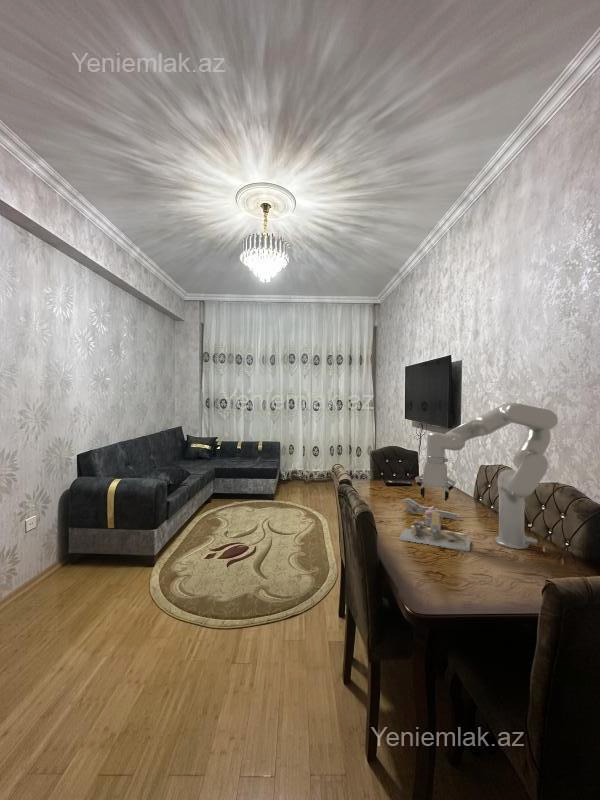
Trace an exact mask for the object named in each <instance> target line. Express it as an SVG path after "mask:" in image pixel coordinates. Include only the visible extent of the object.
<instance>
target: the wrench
mask: <svg viewBox="0 0 600 800" xmlns="http://www.w3.org/2000/svg"><path fill="white" fill-rule="evenodd" d="M406 503H407V504H409V507H404V508H403V511H406V512H407V513H410V514H413V515H416V514H417V513H425V512H426V510H428V509H429V508H430V507H429V506H423V505H421V504H419V503H417V502H416V501H415V500H413V499H412V498H408V497H407V498H404V499H403V500H402V504H406ZM438 510H439V512H440V513H441V516H442V517H443V518H445V519H450V520H454V521H461V519H462V516H461V515H460V514H459V513H456V512H450V511H445V510H441V509H438ZM457 516H459V518H457Z"/></svg>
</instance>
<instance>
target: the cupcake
mask: <svg viewBox="0 0 600 800" xmlns="http://www.w3.org/2000/svg"><path fill="white" fill-rule="evenodd" d="M428 508H429V509H428V510H426V512H424V514H423V515H422V517H423V519H424V524H425V526H426V528H430V525H431V523H432V512H437V513H440V512H439V510H440V509H437V508H436V507H435V506H434V505H432V506H430V507H428ZM443 518H444V517H442V516H441V513H440V521H439V524H441V523H442V521H443Z"/></svg>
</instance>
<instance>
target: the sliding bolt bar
mask: <svg viewBox="0 0 600 800" xmlns="http://www.w3.org/2000/svg"><path fill="white" fill-rule="evenodd" d="M410 529H411V532H414V533H416V536H419V533H420V534H426V535H432V536H433V532H432V530H431V529H430V527H427V526H426V527H425V521H421V520H414V522H413V524H412V525H411V526H410ZM436 536H439V537H445V538H451V539H457V540H464V541H466V538H467V533H465V532H458V531H451V530H445V529H440V531H437V532H436Z"/></svg>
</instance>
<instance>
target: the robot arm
mask: <svg viewBox="0 0 600 800" xmlns="http://www.w3.org/2000/svg"><path fill="white" fill-rule="evenodd" d="M510 424H516V425H520V426H524V427H526V428H527V435H526V438H525V439H524V441H523V442H522V444H521V445H520V447H519V448H518V450H517V452H516V453H515V455H514V456H513V460H512V462H513V465H514V467H515V468H517V469H516V470H513V469H505V470H503V471H501V472H500V473H499V474H498V477H497V481H496V483H497V490H498V535H497V536H495V537H494V542H495V543H496V544H497V545H499V546H502V547H505V548H508V547H509V549H514V548H515V549H514V550H523V549H524V550H525V549H528V548H529V545H530V544H534V545H538V539H537V538H534V537H531V536H526V534H525V498H527V497H529V496H531V494H533V492H534V491H535V490H536V489H537V487H538V485H539V484H540V482H541V481H542V480H543V478H544V476H545V475H546V473H547V471H548V468H549V462H548V459H547V457H546V456H545V455H544V454H545V453H546V451H547V449H548V448H549V445H550V442H551V431H550V430H552V429H554V428H555V427H556V426H557V424H558V416H557V414H556V413H555V412H554V411H552V410H550V409H546V408H542V407H541V408H540V407H537V406H533V405H532V406H531V405H528V404H523V403H518V402H508V403H507V402H506V403H503V404H501V405H499V406H496V407H495V408H493V409H491V410H489V411H488V412H486V413H484V414H482V415H480V416H478V417H476V418H474V419H471V420H469V421H467V422H465V423H463V424H460V425H458V426H457V427H455V428H453V429H450V430H449V431H447V432H445V433H442V432H429V433H428V434H427V436H426V438H427V439H426V462H424V466H423V474H420V475H418V476H416V477H414V480H415V483H416V485H417V486H418V487H419V488H420V495H421V498H423V499H424V497H425V495H426V491H425V490H426V488H425V487H426V486H431V487H439V488H440V487H441V488H443V489H444V491H445V492H444V501H445V502H447V501H448V499H449V498H450V496H449V495H450V493H449V492H450V491H451V490H453V489H454V487H455V485H456V483H457V482H456V481H455V480H453V479H452V478H449V476H448V467H447V462H449V459H448V458H446V456H445V454H446V453H445V451H446V450H449V451H454V452H456V451H461V450H463V448H464V447H465V445H466V442H467V441H469V440H471V439H474V438H478V437H486V436H488V435H491V434H493V433H495V432H497V431H499V430H500V429H502V428H504V427H506V426H508V425H510ZM421 479H422V483H421V482H420V480H421ZM448 482H449V483H450V484H451V485H450V486H448Z"/></svg>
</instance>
